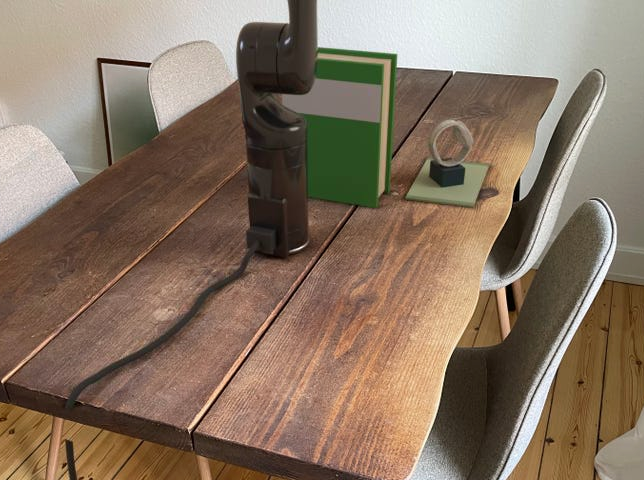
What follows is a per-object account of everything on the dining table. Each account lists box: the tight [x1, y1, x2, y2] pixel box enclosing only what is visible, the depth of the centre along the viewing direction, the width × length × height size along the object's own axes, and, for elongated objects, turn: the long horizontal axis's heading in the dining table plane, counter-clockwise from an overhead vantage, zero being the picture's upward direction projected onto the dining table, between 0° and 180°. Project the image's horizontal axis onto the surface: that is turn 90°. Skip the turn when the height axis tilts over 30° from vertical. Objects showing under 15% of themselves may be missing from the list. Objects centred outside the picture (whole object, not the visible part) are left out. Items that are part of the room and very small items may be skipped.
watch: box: [427, 119, 475, 188], centre depth 137 cm, size 6×8×11 cm
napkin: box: [404, 157, 490, 208], centre depth 140 cm, size 20×12×1 cm, turn 160°
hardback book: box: [281, 46, 398, 209], centre depth 131 cm, size 18×7×24 cm, turn 65°
